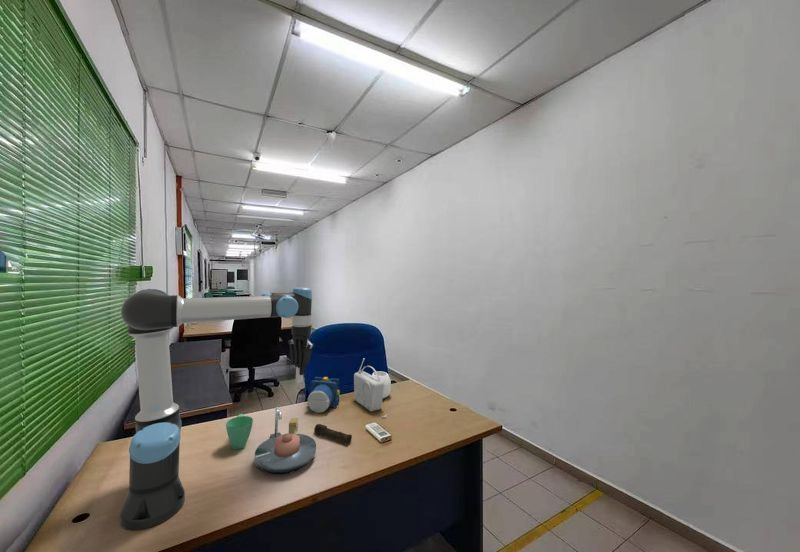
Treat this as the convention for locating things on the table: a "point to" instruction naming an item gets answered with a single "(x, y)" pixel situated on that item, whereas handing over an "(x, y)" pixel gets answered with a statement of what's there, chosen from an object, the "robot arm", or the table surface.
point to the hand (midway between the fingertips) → (299, 382)
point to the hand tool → (332, 434)
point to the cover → (286, 445)
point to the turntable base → (284, 471)
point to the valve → (323, 394)
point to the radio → (368, 389)
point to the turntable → (280, 464)
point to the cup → (386, 381)
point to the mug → (239, 430)
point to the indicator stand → (276, 422)
